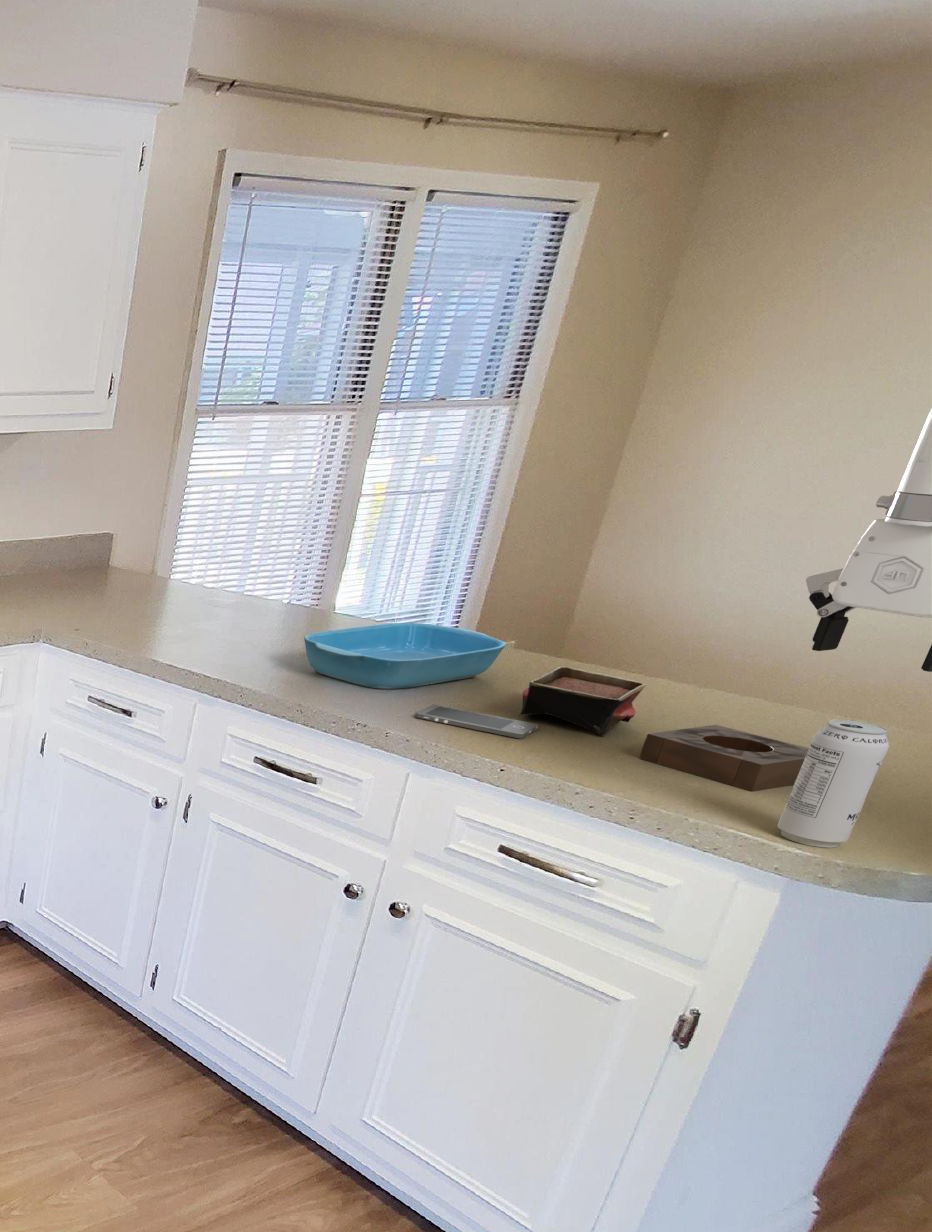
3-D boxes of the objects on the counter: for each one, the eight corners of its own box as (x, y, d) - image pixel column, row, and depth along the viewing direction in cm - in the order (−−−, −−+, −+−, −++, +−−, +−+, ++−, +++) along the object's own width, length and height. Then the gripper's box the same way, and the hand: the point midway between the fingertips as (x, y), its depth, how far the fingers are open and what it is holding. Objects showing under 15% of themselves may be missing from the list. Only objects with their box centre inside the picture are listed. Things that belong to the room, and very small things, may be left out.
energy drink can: (853, 853, 124) (905, 736, 118) (784, 843, 126) (832, 729, 121) (832, 835, 128) (882, 722, 123) (766, 826, 131) (812, 715, 126)
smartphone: (412, 716, 175) (413, 712, 174) (431, 707, 179) (432, 703, 179) (520, 738, 163) (522, 734, 163) (537, 728, 168) (539, 724, 167)
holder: (822, 780, 145) (833, 754, 144) (751, 791, 142) (762, 764, 140) (706, 749, 158) (715, 724, 156) (638, 758, 155) (647, 733, 153)
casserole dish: (377, 699, 185) (386, 660, 182) (273, 669, 205) (280, 634, 202) (522, 678, 195) (532, 641, 192) (409, 651, 215) (417, 618, 212)
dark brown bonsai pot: (644, 736, 169) (661, 676, 167) (605, 740, 160) (623, 677, 158) (537, 720, 181) (552, 664, 179) (495, 723, 172) (510, 664, 170)
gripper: (817, 504, 120) (762, 645, 127) (1032, 522, 105) (958, 682, 111) (861, 501, 122) (805, 640, 128) (1080, 518, 106) (1004, 676, 113)
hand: (876, 659), depth 120 cm, fingers open, 9 cm apart
